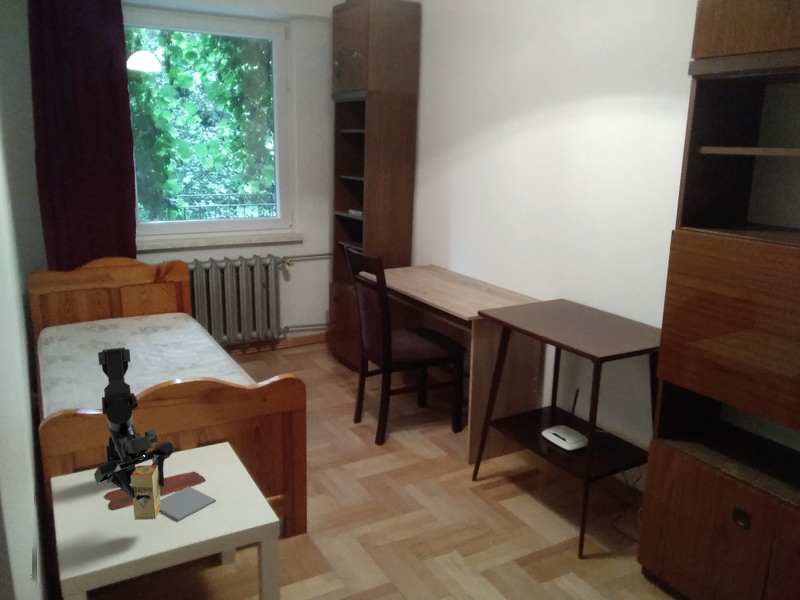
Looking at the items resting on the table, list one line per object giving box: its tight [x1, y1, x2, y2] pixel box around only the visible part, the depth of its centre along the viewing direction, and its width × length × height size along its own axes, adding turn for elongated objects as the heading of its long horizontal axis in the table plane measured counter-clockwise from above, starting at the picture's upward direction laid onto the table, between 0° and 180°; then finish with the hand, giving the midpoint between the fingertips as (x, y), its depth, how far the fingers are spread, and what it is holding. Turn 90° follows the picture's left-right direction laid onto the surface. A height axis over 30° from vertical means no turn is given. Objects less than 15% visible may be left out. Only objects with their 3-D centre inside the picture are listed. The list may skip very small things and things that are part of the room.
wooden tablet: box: [104, 471, 207, 511], centre depth 180 cm, size 27×10×2 cm, turn 126°
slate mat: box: [159, 486, 217, 522], centre depth 172 cm, size 12×12×1 cm
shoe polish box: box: [130, 464, 161, 521], centre depth 156 cm, size 5×5×12 cm
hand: (148, 492), depth 155 cm, fingers closed on shoe polish box, 7 cm apart
